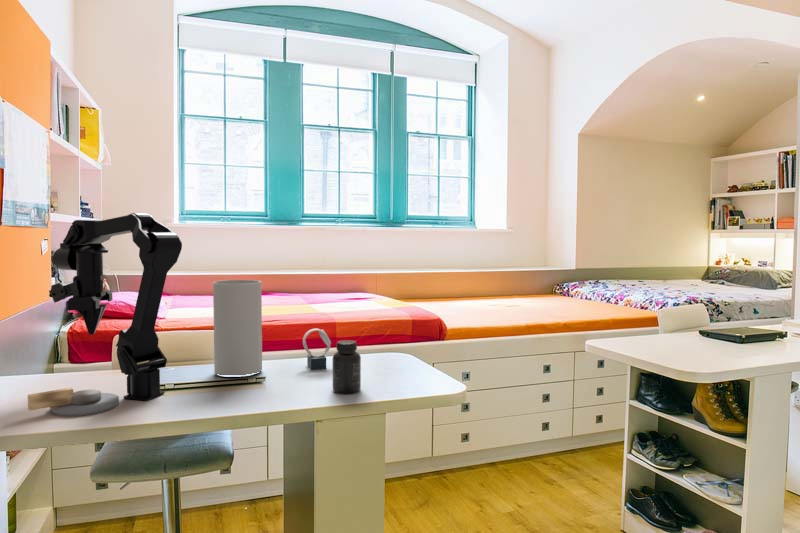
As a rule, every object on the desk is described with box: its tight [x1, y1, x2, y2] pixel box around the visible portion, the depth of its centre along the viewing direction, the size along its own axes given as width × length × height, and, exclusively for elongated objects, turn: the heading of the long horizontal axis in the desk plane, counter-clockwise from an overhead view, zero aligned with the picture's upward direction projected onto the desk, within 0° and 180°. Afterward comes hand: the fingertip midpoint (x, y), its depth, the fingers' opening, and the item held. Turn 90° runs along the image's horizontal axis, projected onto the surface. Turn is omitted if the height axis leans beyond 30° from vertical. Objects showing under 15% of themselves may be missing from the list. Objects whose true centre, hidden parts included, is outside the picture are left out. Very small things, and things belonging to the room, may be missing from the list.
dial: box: [27, 387, 102, 411], centre depth 120 cm, size 14×6×3 cm, turn 133°
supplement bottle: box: [332, 339, 362, 395], centre depth 136 cm, size 7×7×12 cm
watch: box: [302, 328, 332, 371], centre depth 159 cm, size 6×8×11 cm
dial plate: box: [49, 392, 120, 418], centre depth 122 cm, size 13×13×1 cm
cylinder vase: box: [212, 279, 263, 375], centre depth 151 cm, size 12×12×25 cm
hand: (91, 334), depth 138 cm, fingers closed
